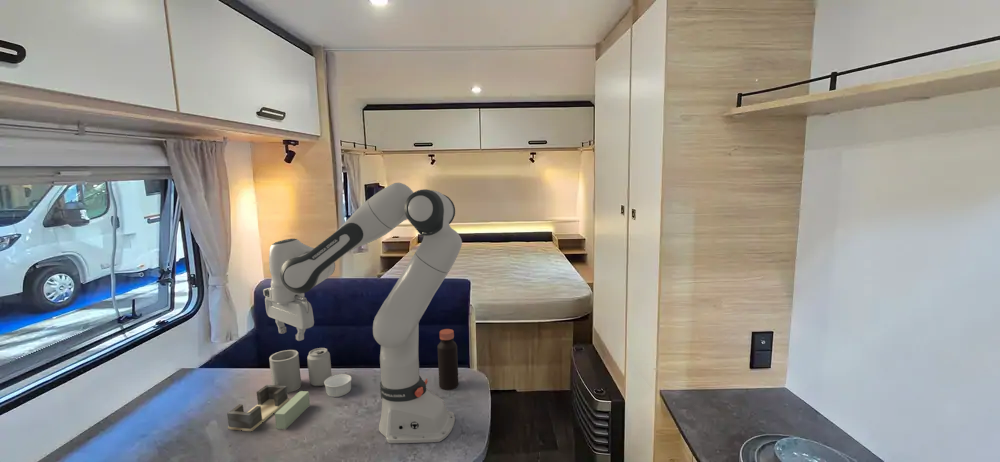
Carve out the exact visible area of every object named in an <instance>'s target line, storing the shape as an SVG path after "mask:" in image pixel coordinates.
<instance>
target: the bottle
mask: <svg viewBox="0 0 1000 462" xmlns="http://www.w3.org/2000/svg"><path fill="white" fill-rule="evenodd" d="M454 332H455V331H454V330H453V328H452V329H450V328H444V329H441V330H440V331H439V340H440V342H439V343H438V344H437V363H438V385H439V388H440V389H442V390H445V391H450V390H454V389H456V388H457V387H458V386H459V365H458V364H459V363H458V345H457V343H456V341H454V339H455V338H454V337H455V333H454Z"/></svg>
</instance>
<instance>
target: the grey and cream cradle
mask: <svg viewBox="0 0 1000 462" xmlns="http://www.w3.org/2000/svg"><path fill="white" fill-rule="evenodd" d="M288 394H289V393H287V386H277V385H272V384H265V385H264V386H263V387H262V388H260V389H259V390H257V391H256V398H257V399H256V400H257V404H255V406H253V407H252V408H251V409H249V410H248V411H247V412H246V411H244V405H243V404H241V403H240V404H238V405H237V406H234V408H232V409H230V411H228V412H227V415H226V416H227V423H228V426H227V429H228V430H234V431H241V430H242V431H243V432H251V431H252V432H253V431H254V430H255V429H256V428H258V427H259V426H260V425H261V424H263V423H264V422H265V421H267V420H268V419H269V418H270V417H271V416H273V413H274V414H275V413H276V412H277V411H278V410H279V409H281V408H282V407H283V406H284V405H285V404H286V403H287V402H288V401H290V399H289V396H288ZM262 422H263V423H262Z"/></svg>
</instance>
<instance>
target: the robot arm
mask: <svg viewBox="0 0 1000 462" xmlns="http://www.w3.org/2000/svg"><path fill="white" fill-rule="evenodd" d="M455 216H456V207H455V204H454V202H453V200H451V198H450V197H449V196H447V195H445V194H443V193H442V192H440V191H436V190H432V189H419V190H416V191H413V190H412V189H411V188H410V187H409V186H408V185H406V184H405V183H402V182H394V183H392V184H389V185H388V186H385V187H384V188H382V189H380V190H379V191H378V192H376V193H375V194H373V196H371V197H370V198H368V199H367V200H366V201H364V202H363V203H362V204H361V205H360V206H359V207H358V208H357V209H356V210H355V211H354V212H353V213H352V214H351V215H350V217H348V219H347V220H346V221H344V223H342V225H341V226H340V227H339V228H338V229H337V230H336V231H335V232H334V233H332V234H330V236H327V237H328V238H325V240H323V241H322V242H320V243H319V244H318V245H317V246H316V247H312V246H309V245H307V244H305V243H303V242H302V241H300V240H299V239H298V238H286V239H283V240H278V241H276V242H275V241H274V243H272V244H271V246H269V251H268V252H269V254H268V255H269V256H268V265H269V273H270V276H271V281H270V287H267V288H264V289H263V290H262V292H263V296H264V297H265V298H264V304H265V311H266V315H267V316H268V317H269V318H271V319H274V320H275V324H276V326H277V329H278V334H285V333H287V326H286V325H285V324H287V325H289V326H292V327H295V328H296V330H297V333H296V334H295V341H298V342H300V341H303V340H304V339H305V332H306V330H307V329H310V328H312V327H314V324H315V320H314V319H315V318H314V312H313V307H312V304H311V303H310V302H309V301H308V300H307V297H305V293H308V292H309V291H311V290H312V289H313V288H315V287H316V286H317V285H319V284H320V283H322V282H324V281H325V280H326V279H328V278H330V277H331V276H332V275H333V274H334V273H335V269H336V262H337V261H338V260H339V259H341V258H342V257H343V256H345V255H346V254H347V253H349V252H351V251H353V250H355V249H357V248H360V247H361V246H364V245H367V244H370V243H371V242H374V241H377V240H378V239H380V238H382V237H383V236H386V235H387V234H389V233H390V232H391V231H393V230H394V229H395V228H397V227H398V226H399V225H400V224H402V223H403V222H405V221H407V220H408V222H409V223H410V225H412V226H413V228H415V230H416V231H417V233H419V235H421V236H423V238H422V240H421V243H420V245H419V246H418V248H417V249H416V251H415V252H414V254H413V255H412V257H411V258H410V260H409V262H408V263H407V265H406V267H405V268H404V270H403V272H401V275H400V276H399V277H398V278H397V281H396V282H395V284H394V285H393V287H392V289H391V290H390V292H389V293H388V296H387V297H386V298H385V300H384V301H383V302H382V305H381V306H380V308H379V310H378V311H377V313H376V315H375V316H374V318H373V319H374V320H373V323H372V335H373V339H374V340H375V341H376V343H377V344H378V345H380V352H379V353H380V354H379V364H380V377H381V378H380V379H381V380H380V382H379V384H380V385H379V390H380V392H379V393H380V398H381V414H380V419H379V420H380V421H379V425H378V430H379V432H380V433H381V435H383V436H384V437H385V440H386V442H387V443H388V444H411V443H413V444H415V443H417V444H418V443H420V444H421V443H439V442H442V441H443V440H445V438H447V437H448V436H449V435H450V433H452V430H453V429H454V426H455V422H456V418H455V413H454V412H453V411H451V410H447V405H446V402H445V400H444V399H443V398H442V397H440V396H438V395H437V394H435V393H434V392H432V390H430V389H428V388H427V384H428V382H429V381H428V378H425V380H423V379H422V376H421V374H420V361H419V359H420V358H419V336H420V335H419V329H420V328H419V323H420V320H421V319H422V317H423V315H424V314H425V312H426V310H427V308H428V306H429V305H430V303H431V301H432V299H434V296H435V294H436V293H437V291H438V289H439V288H440V287H441V285H442V283H443V281H445V279H446V277H447V275H448V274H449V272H450V270H451V269H452V267H453V266H454V264H455V262H456V259H457V258H458V256H459V253H460V250H461V248H462V245H463V240H462V238H461V236H460V234H459V233H458V232H457V231H456V230H455V229H454V228H452V227H451V223H452V222H453V220H454V218H455Z"/></svg>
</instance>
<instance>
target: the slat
mask: <svg viewBox="0 0 1000 462" xmlns="http://www.w3.org/2000/svg"><path fill="white" fill-rule="evenodd" d="M310 406H311V403H310V393H309V390H308V391H305V390H304V391H303V390H299V392H297V393H296V394H295V395H294V396H292V398H291V399H289V401H288V402H287V403H286V404H284V405H283V406H282V407H281V408H280V409H278V410H277V411H276V412H275V413H274V418H275V419H274V420H275V428H277V429H278V430H286V429H288V427H289V426H290V425H292V424H293V422H295V421H296V420H297V419H298V418H299V417H300V415H302V414H303V412H305V411H306V409H308V408H309V407H310Z"/></svg>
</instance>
